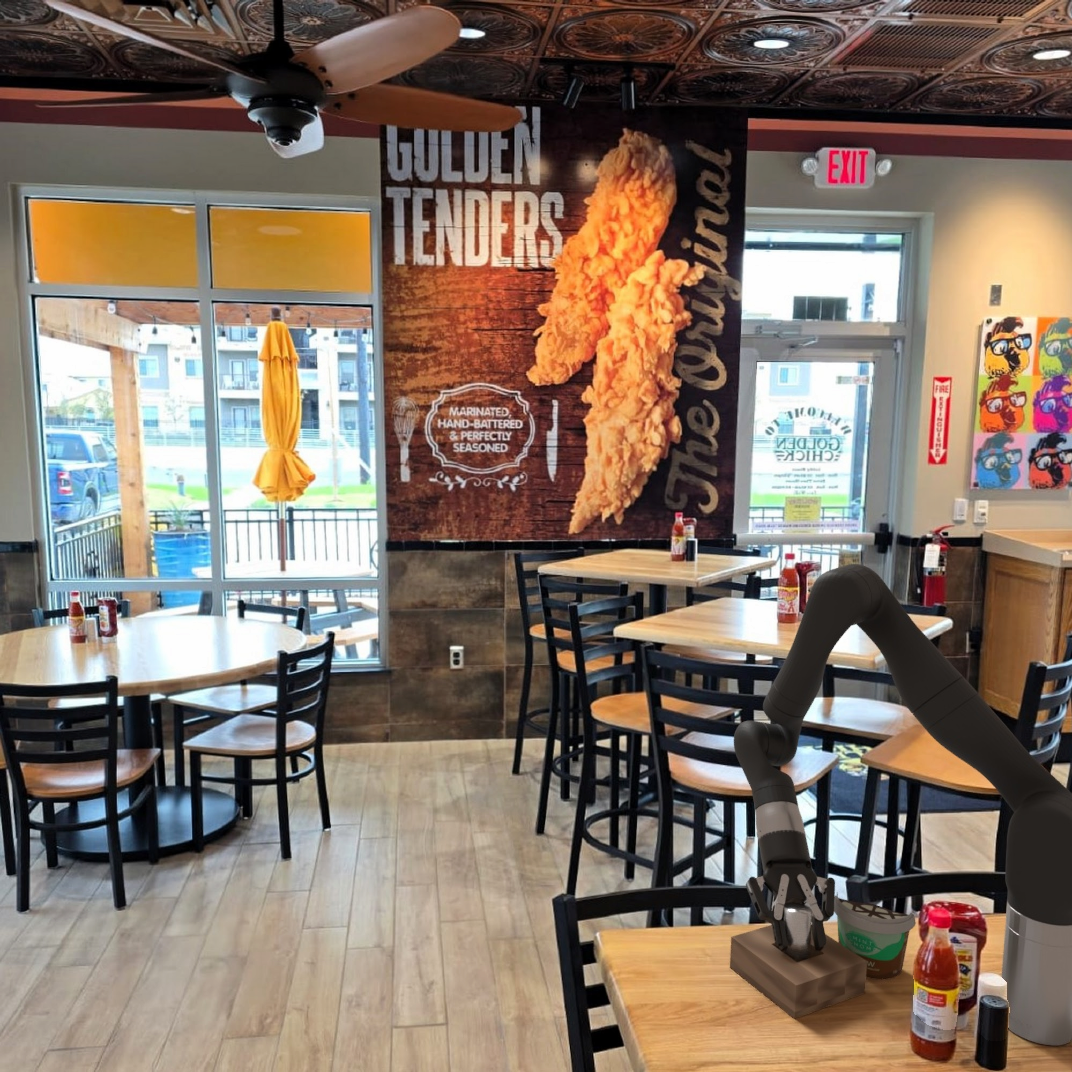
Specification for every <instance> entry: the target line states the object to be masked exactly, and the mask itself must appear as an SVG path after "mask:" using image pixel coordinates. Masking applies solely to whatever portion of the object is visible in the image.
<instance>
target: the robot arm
mask: <svg viewBox="0 0 1072 1072" xmlns="http://www.w3.org/2000/svg"><path fill="white" fill-rule="evenodd" d="M810 589H811V590H810V592H809V595H808V598H807V600H806V603H805V607H804V610H803V614H802V617H801V620H800V622H799V623H800V624H799V625H798V628H797V631H796V634H795V637H794V638H793V642H792V643H791V644H792V645H791V647H790V649H789V651H788V653H787V656H786V659H785V660H784V662H783V664H782V666H781V667H780V670H779V672H778V674H777V676H776V678H775V679H774V680H773V682H772V685H771V686H770V688H769V690H768V693H767V694H766V696H765V698H764V700H763V703H762V709H763V712H764V714H765V715H766V717H767V718H768V719H769V720H770V721H772V722H774V724H773V723H769V722H763V721H756V720H746V721H743V722H740V724H738V726H737V727H736V728H735V729H736V730H735V732H734V736H733V748H734V752H735V755H736V758H737V761H738V762H739V765H740V768H741V769H742V771H743V773H744V776H745V778H746V781H747V783H748V784H749V787H750V789H751V795H752V799H753V805H754V811H755V826H756V827H755V828H756V838H757V839H758V846H759V851H760V858H761V863H762V871H763V872H762V875H761V876H758V877H757V876H756V877H755V876H750V877H749V878H748V880H747V882H746V883H745V888H746V890H747V893H748V896H749V897H750V900H751V902H752V905H753V907H754V910H755V912H756V913H755V914H756V915H757V918H758V919H759V920H760V921H767V922H768V923H770V925H772V928H773V934H774V940H775V944H776V946H779V948H780V950H786V949H787V948H788V943H787V937H786V931H785V925H784V920H782V918H783V915H784V906H785V905H786V904H788V903H801V904H804V905H807V906H808V907H810V908H811V910H812V919H811V930H812V936H813V941H814V946H815V950H816V951H821V950H822V949H823V947H824V945H825V944H826V936H825V934H826V931H825V926H824V922H828V921H829V920H830V919H831V918H832V917H833V916H834V914H835V912H834V899H835V896H836V895H835V893H836V892H835V891H836V880H835V879H834V878H833V877H828V878H825V877H821V876H817V873H816V872H815V871H814V869H813V867H812V862H811V861H812V860H811V854H810V850H809V846H808V840H807V836H806V835H807V834H806V831H805V825H804V821H803V818H802V814H801V812H800V807H799V802H798V799H797V793H796V787H795V783H794V781H793V779H792V777H791V775H790V774H787V772H784V771H782V770H779V769H778V768H776V767H783V766H786V765H788V764H789V763H790V762H791V761H793V759H794V758H795V756H796V755H797V754H796V753H797V751H798V745H799V740H800V735H801V731H802V727H803V722H804V719H805V717H806V716H807V714H808V711H809V710H810V708H811V707H812V704H813V703H814V701H815V699H816V698H817V696H818V693H819V692H820V689H821V686H822V683H823V679H824V675H825V670H826V665H827V662H828V660H829V657H830V655H831V653H832V651H833V649H834V647H835V646H837V644H838V642H839V641H840V640H841V638H842V637H843V636H844V634H845V633H846V632H847V631H849V629H850V628H851V627H852V626H855V625H856V626H857V627H859V629H861V630H862V632H864V633H865V635H866V636H867V637H868V638H869V640H871V641H872V643H873V644H874V645H875V646H876V648H877V649H878V650H879V651H880V653H881V655H882V656H883V658H884V661H885V662H886V664H887V666H888V670H889V672H890V675H891V677H892V680H893V682H894V686H895V687H896V691H897V692H898V694H899V696H900V698H901V700H902V702H903V703H904V705H905V706H906V708H907V709H908V710H909V711H910V713H912V715H913V717H914V718H915V719H916V720H917V721H918V722H919V724H920V725H921V726H922V728H924V730H926V732H927V733H928V734H929V735H930V736H931V737H932V739H934V741H935V742H937V743H938V744H939V745H940V746H941V747H943V748H944V749H946V750H947V751H948V752H950V753H951V754H952V755H954V756H956V757H957V758H958V759H960V760H961V761H962V762H964V763H965V764H967V765H969V766H970V767H971V768H973V769H974V770H975V771H977V772H978V773H980V774H981V775H982V776H983V777H984V778H985V779H986V780H987V781H988V782H989V783H990V784H991V785H992V786H993V787H994V789H996V791H997V792H998V793H999V794H1000V796H1001V797H1002V798H1003V799H1004V801H1005V802H1006V803H1007V805H1008V806H1009V807H1010V809H1011V810H1012V811H1013V814H1012V816H1011V818H1010V820H1009V824H1008V828H1007V834H1006V853H1005V875H1004V876H1005V878H1004V879H1005V884H1006V887H1007V899H1006V910H1005V911H1006V913H1005V926H1004V928H1005V929H1004V936H1003V937H1004V940H1003V952H1002V953H1003V954H1002V964H1001V965H1002V968H1001V977H1002V978H1003V979H1004V980H1005V981H1006V982H1007V1000H1008V1002H1009V1007H1010V1013H1009V1029H1008V1030H1010V1031H1011V1032H1012V1033H1013V1034H1015V1035H1017V1036H1019V1037H1021V1038H1023V1039H1025V1040H1028V1041H1030V1042H1033V1043H1037V1044H1041V1045H1046V1046H1063V1045H1066V1044H1069V1043H1070V1042H1071V1041H1072V791H1070V790H1069V789H1068V788H1067V787H1066V786H1065V785H1063V784H1062V782H1061V781H1059V780H1058V779H1057V778H1056V777H1055V776H1054V775H1053V774H1052V773H1051V772H1050V771H1049V770H1047V768H1045V767H1044V766H1043V765H1042V764H1041V763H1040V762H1039V761H1038V760H1037V759H1036V758H1035V757H1034V756H1033V755H1032V754H1031V753H1030V752H1029V751H1028V750H1027V749H1026V748H1025V747H1024V746H1023V744H1022V742H1020V740H1019V739H1018V738H1017V737H1016V736H1015V735H1014V734H1013V732H1012V731H1011V730H1010V729H1009V728H1008V726H1007V725H1006V724H1005V723H1004V721H1002V719H1001V718H1000V717H999V716H998V715H997V714H996V713H995V711H994V710H992V708H991V707H990V705H988V703H987V702H986V700H984V698H983V696H982V695H980V693H979V692H978V691H977V690H976V689H975V688H974V687H973V686H972V684H971V683H970V682H969V681H968V680H967V679H966V678H965V677H964V676H963V675H962V674H961V672H959V670H958V669H956V667H954V665H953V664H952V663H951V662H950V661H949V660H948V658H946V657H945V656H944V654H943V653H942V652H941V651H940V650H939V648H937V647H938V646H936V645H935V644H934V643H933V642H932V641H931V639H930V638H928V636H926V634H925V633H924V632H923V631H922V630H921V629H920V628H919V627H918V626H917V624H916V623H915V622H914V621H913V619H912V618H911V617H910V615H909V614H908V613H907V611H906V610H905V609H904V607H903V606H902V605H901V602H899V600H898V599H897V598H896V596H895V595H894V593H893V592H892V590H891V589H890V587H888V585H887V584H886V582H885V581H884V580H883V579H882V577H880V575H879V574H878V573H877V572H875V570H873V569H871V568H870V567H868V566H867V565H862V564H859V563H849V564H846V565H842V566H841V565H840V566H838V567H836V568H832V569H830V570H827V571H825V572H824V573H822V574H820V575H819V576H818V577H817V578H816V579H815V580H814V582H813V584H812V587H811V588H810ZM764 886H765V887H766V888H767V889H768V891H769V892H770V893H771V894H772V895H773V898H772V904H771V910H770V909H769V907H768V904H767V902H766V900H765V897H764V894H763V892H762V891H763V889H764ZM815 886H818V887H817V888H818V891H819V893H821V894H822V895H821V897H822V898H821V909H820V907H819V906H818V905H819V904H818V901H817V899H816V897H815V895H814V894H813V890H814V888H815ZM1070 1040H1071V1041H1070Z"/></svg>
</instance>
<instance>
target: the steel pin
mask: <svg viewBox="0 0 1072 1072" xmlns="http://www.w3.org/2000/svg"><path fill="white" fill-rule="evenodd" d="M811 919H812V910H811V908H810V907H808V906H807V905H804V904H801V903H794V902H790V903H785V904H784V908H783V921H784V925H785V931H786V937H787V943H788V948H787V949H786V950H783V953H784V954H786V955H787V956H789V957H790V958H791V959H793V960H794V961H796V962H800V961H803V960H806V959H809V958H810V951H811V925H812V922H811Z"/></svg>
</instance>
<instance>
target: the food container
mask: <svg viewBox="0 0 1072 1072" xmlns="http://www.w3.org/2000/svg"><path fill="white" fill-rule="evenodd" d="M838 894H839V893H838V891H837V892H836V895H835V899H834V914H835V915H836V920H837V939H838V941H837V942H838V943H840V944H841V945H843V946H845V947H846V948H848V949H849V950H851V951H852V952H854V953H855V954H857V955H858V956H860V957H861V958H863V959H864V960H866V961H867V970H866V978H868V979H874V980H889V979H893V978H896V977H898V976H899V975H900V974H901V973H902V970H903V967H904V962H905V956H906V951H907V946H908V940H909V935H910V931H911V930H912V929H914V928H915V926H916V918H915V917H916V916H915V914H914V913H913V911H914V910H913V909H912V910H911V912H910V913H909V914H907V913H902V912H897V911H895V910H894V911H893V910H891V909H888V908H886V907H883V906H880V905H879V904H878V905H877V904H874V903H866V902H865V903H864V902H858V901H852V900H848V899H844V898H840V897H838V896H839V895H838Z"/></svg>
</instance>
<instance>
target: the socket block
mask: <svg viewBox="0 0 1072 1072" xmlns="http://www.w3.org/2000/svg"><path fill="white" fill-rule="evenodd" d="M825 936H826V944H825V945H824V947H823V949H822V950H821V951H816V950H815V946H814V941H813V936H812V930H811V951H810V958H809V959H806V960H803V961H800V962H796V961H794V960H793V959H791V958H790V957H789V956H787V955H786V954H784V953H783V950H780V948H779V946H776V944H775V940H774V934H773V928H772V924H770V925H766V926H764V927H760V928H757V929H753V930H749V931H746V932H743V933H739V934H736V935H733V936H730V937H731V938H730V953H729V955H730V957H729V968H730V969H731V970H732V971H734V972H735V973H737V975H739V976H740V977H741V978H743V979H744V980H745V981H746V982H748V983H749V984H750V985H751V986H752V987H753V988H755V989H756V990H757V991H758V992H760V993H761V994H762V995H764V996H765V997H766V998H767V999H769V1000H770V1001H771V1002H773V1003H774V1004H775V1005H776V1006H778V1007H779V1008H780V1009H781V1010H782V1011H784V1012H785V1013H787V1014H788V1015H789V1016H791V1018H793V1019H794V1020H795V1019H798V1018H801V1017H803V1016H806V1015H809V1014H811V1013H815V1012H817V1011H819V1010H823V1009H825V1008H827V1007H831V1006H833V1005H836V1004H840V1003H841V1002H844V1001H847V1000H850V999H852V998H856V997H858V996H861V995H864V994H866V985H867V977H866V970H867V961H866V960H864V959H863V958H861V957H860V956H858V955H857V954H855V953H854V952H852V951H851V950H849V949H848V948H846V947H845V946H843V945H841V944H840V943H839V941H837V940H835V939H833V938H832V937H830V936H829V935H827V934H826V933H825Z"/></svg>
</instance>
